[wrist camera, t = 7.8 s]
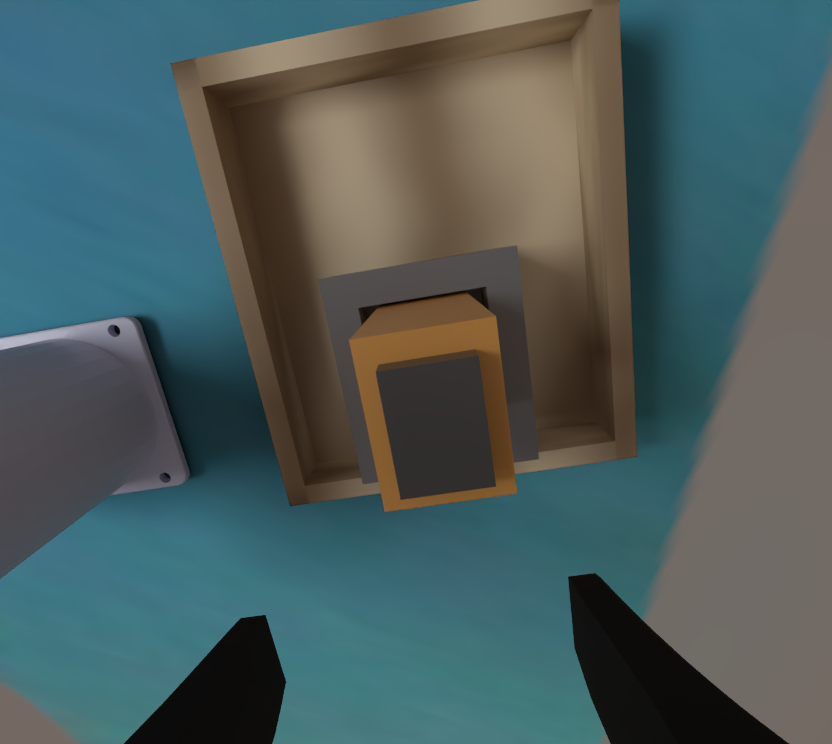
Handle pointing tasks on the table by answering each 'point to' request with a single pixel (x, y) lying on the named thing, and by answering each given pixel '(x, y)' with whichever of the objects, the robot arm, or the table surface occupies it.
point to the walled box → (425, 205)
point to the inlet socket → (472, 272)
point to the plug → (434, 401)
